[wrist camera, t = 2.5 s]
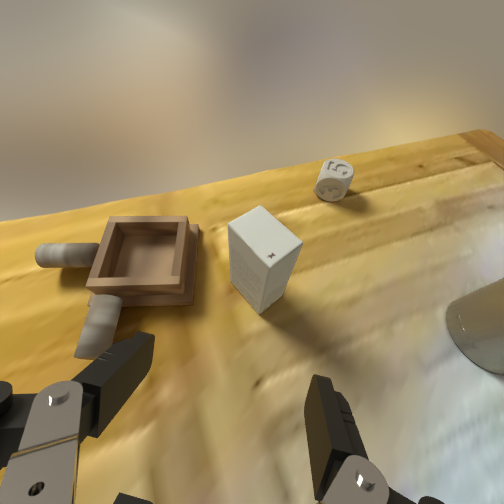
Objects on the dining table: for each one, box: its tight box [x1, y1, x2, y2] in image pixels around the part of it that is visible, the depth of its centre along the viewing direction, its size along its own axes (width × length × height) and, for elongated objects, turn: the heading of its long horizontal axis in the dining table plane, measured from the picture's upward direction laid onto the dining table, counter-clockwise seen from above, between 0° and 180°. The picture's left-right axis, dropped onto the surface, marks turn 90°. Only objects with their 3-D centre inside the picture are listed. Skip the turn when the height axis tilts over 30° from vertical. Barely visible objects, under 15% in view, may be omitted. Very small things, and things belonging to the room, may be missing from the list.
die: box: [314, 159, 354, 202], centre depth 40 cm, size 5×5×5 cm
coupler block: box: [35, 216, 199, 360], centre depth 29 cm, size 18×18×4 cm
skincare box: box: [228, 205, 303, 314], centre depth 26 cm, size 6×4×12 cm
